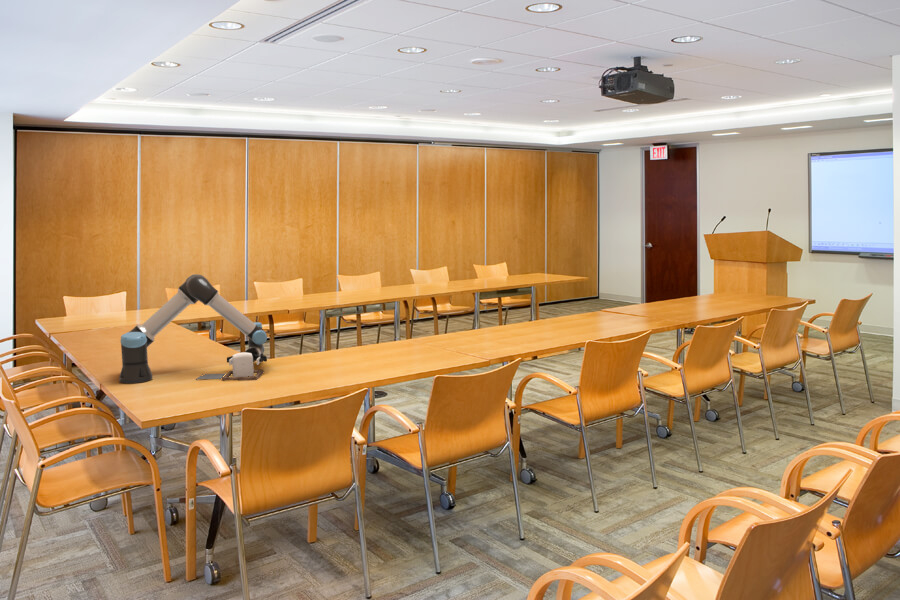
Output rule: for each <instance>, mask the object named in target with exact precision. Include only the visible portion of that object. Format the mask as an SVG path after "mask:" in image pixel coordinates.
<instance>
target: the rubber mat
mask: <svg viewBox="0 0 900 600" xmlns="http://www.w3.org/2000/svg"><path fill="white" fill-rule="evenodd" d="M203 374H205V375H203ZM225 374H226V373H202V374H201V375H203V376H201V375H199V376H198V377H197V378H195V380H196V381H198V380H197V379H221V378H222V377H223V376H224V375H225ZM221 380H222V379H221Z"/></svg>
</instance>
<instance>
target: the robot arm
mask: <svg viewBox="0 0 900 600" xmlns="http://www.w3.org/2000/svg"><path fill="white" fill-rule="evenodd" d="M197 302H200V303H202V304H203V305H204V306H209V307H210V308H211V309H213V310H214V311H215V312H216V313H217V314H218V315H220V316H221V317H223V319H225V320H226V321H227V322H228V323H230V324H232V326H233V327H234V328H236V329H237V330H239V331H240V332H241V333H242V334H243V335H244V336H246V337H247V340H248V344H247V345H248V348H247V349H246V350H245V351H244V352H247V353H251V354H252V356H253V363H255V362H256V365H257V366H258V365H260V364H261V363H263V362H267V361H268V357H267V356H266V355H265V354H264V353H265V346H264V344H265V343H266V342H267V339H268V336H267V333H266V331H265V330H263V324H262V322H259V321H258V322H256V321H252V320H250V319H249V317H247V316H246V315H245V314H244V313H243V312H241V311H240V310H239V309H237V307H235V306H234V305H232V304H231V303H230V302H229V301H228V300H227V299H225V297H223V296H222V295H220V294H219V291H218V290H217V288H216V287H215V286H213V285H212V283H210V281H209V280H208V279H207V278H206V277H205V276H204V275H202V274H192V275H190V276H189V277H187V278H186V279H185V281H184V282H183V283H182V284H181V285H180V286H179V287H178V288H177V292H176V294H174V295H173V296H172V297H171V298H169V300H168V301H166V302H165V303H164V304H163V305H162V306H161V307H160V308H159V309H158V310H157V311H155V312H154V314H152V315H151V316H150V317H148V319H146V320H145V321H144V323H143V324H136V326H135V327H133V328H132V329H131V330H130V331H128V332H126V333H123V334H121V336H120V339H119V341H120V346H121V363H122V364H121V365H122V367H121V370H120V374H119V379H118V380H119V383H121V384H140V383H139V382H141V383H145V382H144V381H146V382H149V381H148V380H150V381H151V379H152V378H153V373H152V370H151V368H150V366H149V361H148V360H149V359H148V347H150V345H151V344H152V343H153V342H154V341H155V337H156V336H157V335H158V334H159V333H160V332H161V331H162V330H163V329H164V328H166V327H167V326H168V325H169V324H170V323H171V322H173V320H174V319H175V318H177V316H179V315H180V314H181V313H182V312H183V311H184V310H186V309H187V308H188V307H189V306H190V305H195V304H197ZM232 357H233V355H231V356H227V357H226V363H228V365H229V366H232ZM152 380H153V379H152Z"/></svg>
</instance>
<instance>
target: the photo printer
mask: <svg viewBox="0 0 900 600" xmlns="http://www.w3.org/2000/svg"><path fill="white" fill-rule="evenodd" d="M232 356H233V357H232V365H231V367H232V371H233V374H232V377H248V376H249V377H253V376H255V374H254V370H255V369H254V362H253V356H252V354H251V353H247V352H245V351H243V352H237V353H234V354H232Z"/></svg>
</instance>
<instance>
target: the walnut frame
mask: <svg viewBox="0 0 900 600" xmlns="http://www.w3.org/2000/svg"><path fill="white" fill-rule="evenodd" d="M263 372H264V373H265V370H264V369H254V373H257V374H254V376H249V377H233V376H232V375H233V370H229V371H228V372H226V373H225V374H226V375H225V376H224V377H222V379H221V381H222V380H238V381H258V380H257V379H260V377H261V376H262V375H263V374H264V373H263ZM231 374H232V375H231ZM230 375H231V376H230ZM229 376H230V377H229Z"/></svg>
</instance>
